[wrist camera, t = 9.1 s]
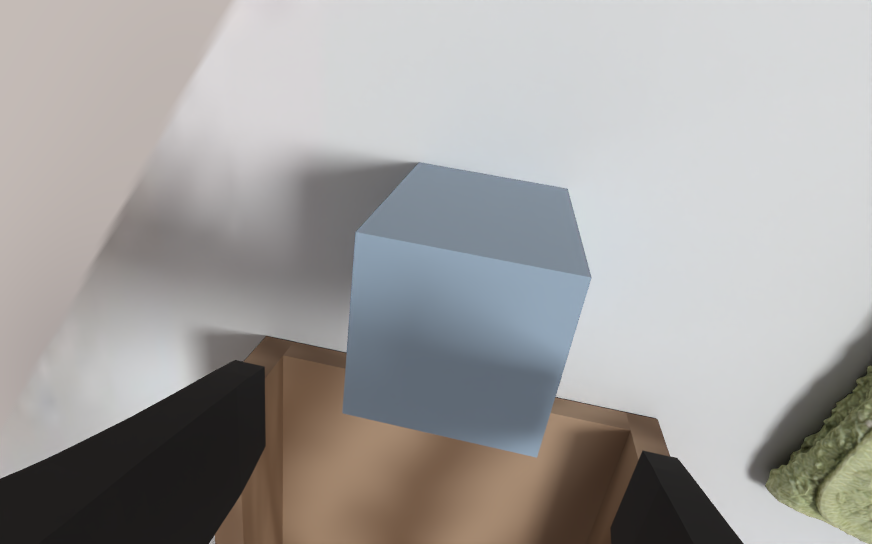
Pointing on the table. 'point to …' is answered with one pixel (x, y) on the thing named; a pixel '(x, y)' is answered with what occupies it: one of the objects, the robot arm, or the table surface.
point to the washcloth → (834, 468)
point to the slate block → (464, 307)
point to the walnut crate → (423, 471)
